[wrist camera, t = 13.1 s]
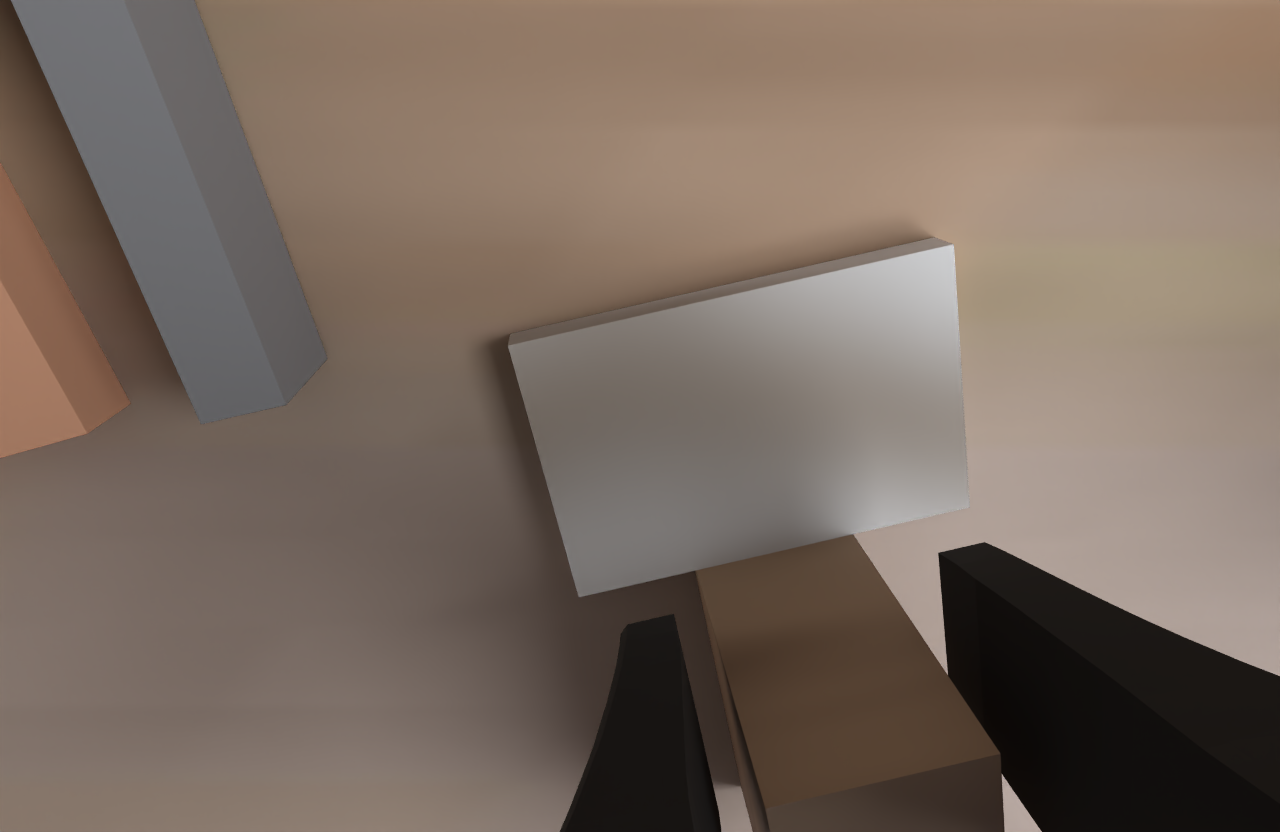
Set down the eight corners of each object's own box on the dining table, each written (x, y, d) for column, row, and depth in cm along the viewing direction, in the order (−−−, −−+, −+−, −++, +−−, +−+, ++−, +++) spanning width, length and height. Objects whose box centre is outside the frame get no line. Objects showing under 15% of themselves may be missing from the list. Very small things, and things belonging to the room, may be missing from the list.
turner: (968, 732, 15) (1160, 1027, 10) (642, 808, 15) (681, 1139, 10) (934, 237, 11) (1195, 333, 7) (510, 333, 11) (475, 499, 7)
